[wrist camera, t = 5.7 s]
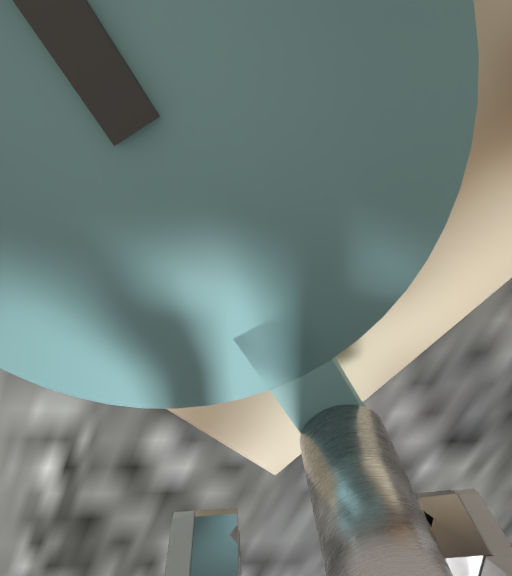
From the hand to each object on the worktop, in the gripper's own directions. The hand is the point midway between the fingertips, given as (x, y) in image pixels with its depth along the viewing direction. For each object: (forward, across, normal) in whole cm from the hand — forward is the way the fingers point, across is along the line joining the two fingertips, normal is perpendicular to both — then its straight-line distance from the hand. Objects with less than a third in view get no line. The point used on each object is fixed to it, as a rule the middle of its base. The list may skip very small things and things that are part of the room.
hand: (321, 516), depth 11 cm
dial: (+4, +2, -7) cm, 8 cm away
